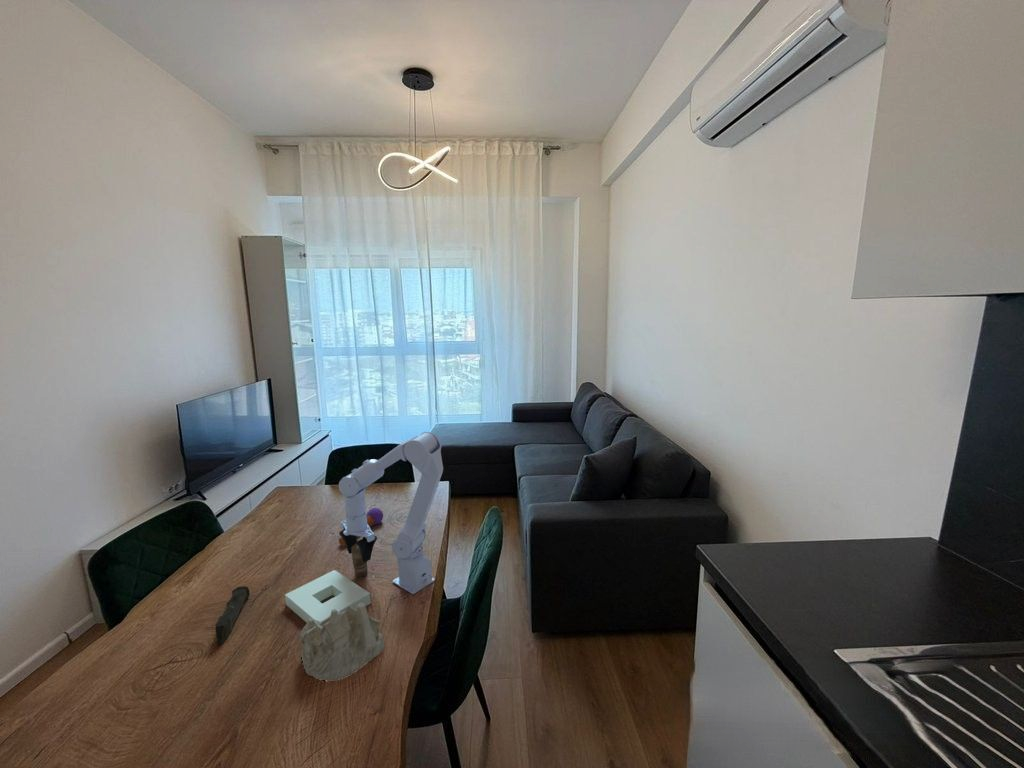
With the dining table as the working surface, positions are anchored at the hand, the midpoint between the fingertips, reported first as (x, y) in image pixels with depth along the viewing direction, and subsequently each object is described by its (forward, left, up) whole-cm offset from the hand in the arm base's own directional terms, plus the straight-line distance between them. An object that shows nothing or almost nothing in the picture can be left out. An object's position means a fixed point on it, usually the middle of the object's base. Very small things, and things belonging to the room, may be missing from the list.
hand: (359, 556), depth 126 cm
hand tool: (+9, +31, -6) cm, 33 cm away
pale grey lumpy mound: (-24, +19, -6) cm, 31 cm away
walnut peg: (0, 0, -6) cm, 6 cm away
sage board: (-5, +13, -6) cm, 15 cm away
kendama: (+23, -15, -6) cm, 28 cm away
